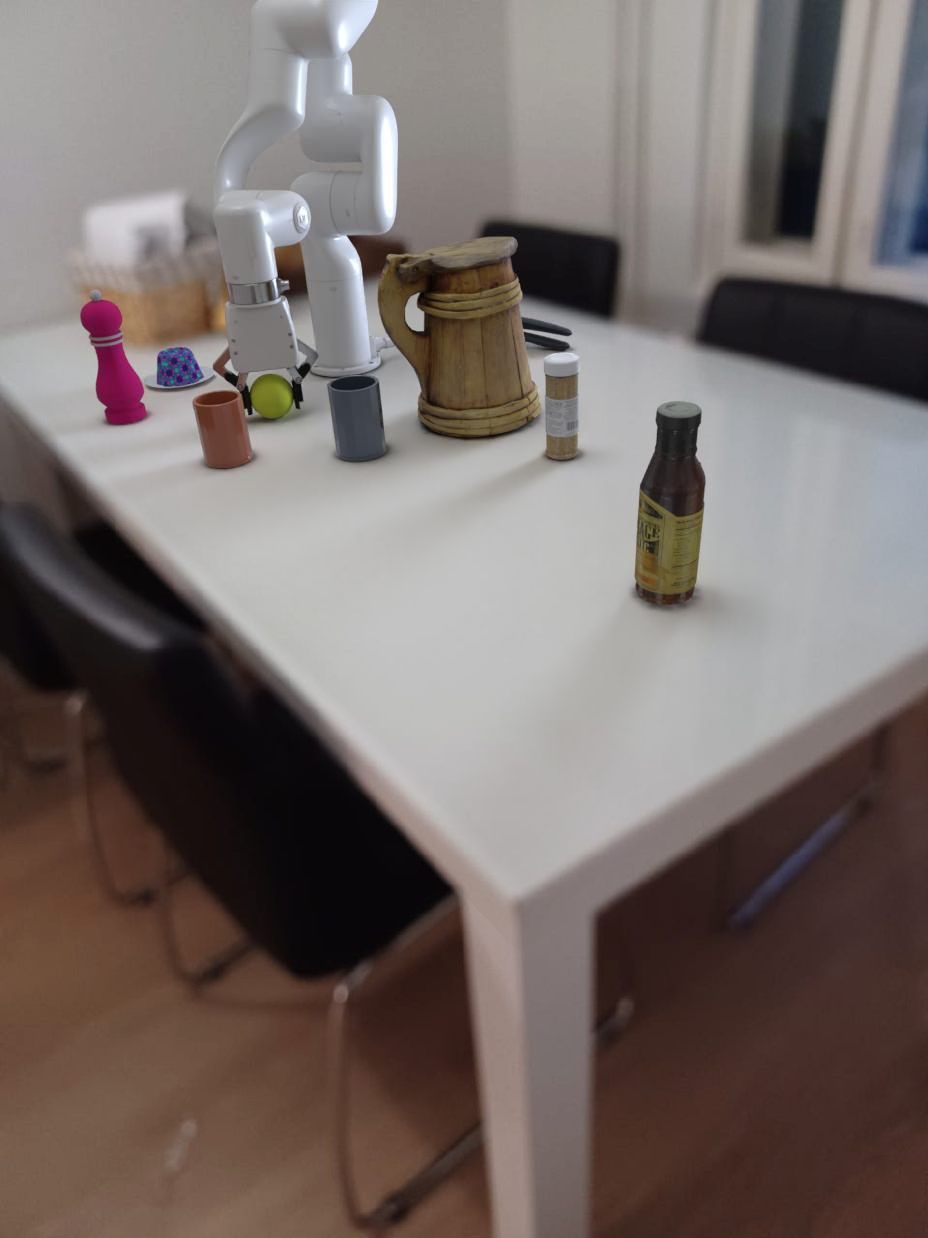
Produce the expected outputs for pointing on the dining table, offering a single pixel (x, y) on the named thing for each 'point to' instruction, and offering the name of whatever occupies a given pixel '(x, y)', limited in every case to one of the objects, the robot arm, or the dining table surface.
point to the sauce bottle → (671, 509)
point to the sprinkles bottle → (561, 405)
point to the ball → (271, 396)
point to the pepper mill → (112, 362)
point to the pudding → (177, 369)
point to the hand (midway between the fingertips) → (273, 408)
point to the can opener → (548, 328)
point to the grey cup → (357, 417)
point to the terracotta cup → (223, 428)
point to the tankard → (463, 335)
